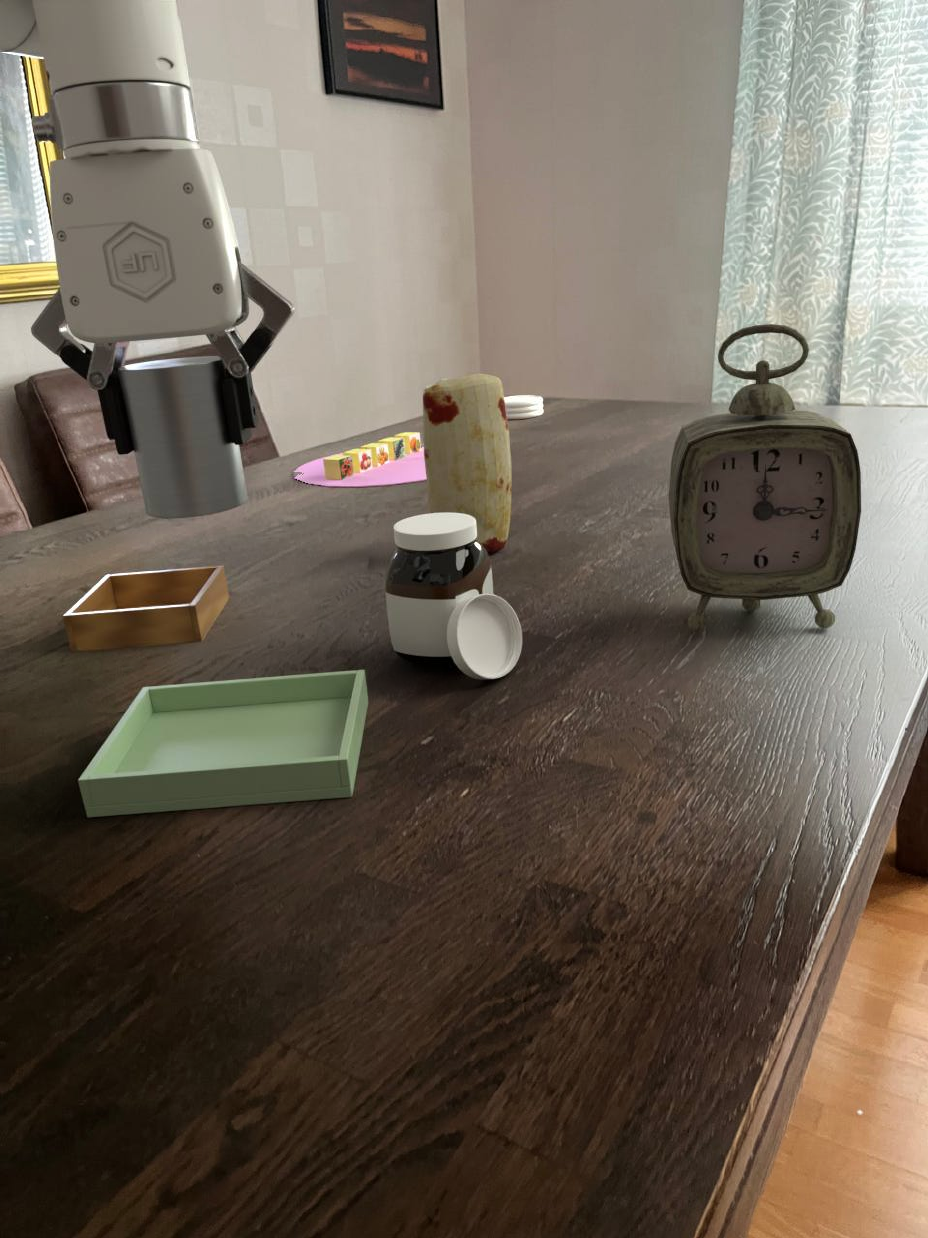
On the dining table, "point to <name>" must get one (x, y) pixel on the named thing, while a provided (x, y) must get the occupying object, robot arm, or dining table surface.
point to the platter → (370, 464)
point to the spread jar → (448, 599)
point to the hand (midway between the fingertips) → (186, 443)
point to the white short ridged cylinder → (523, 406)
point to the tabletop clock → (764, 496)
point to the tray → (231, 745)
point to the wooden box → (147, 609)
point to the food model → (469, 453)
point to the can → (182, 437)
